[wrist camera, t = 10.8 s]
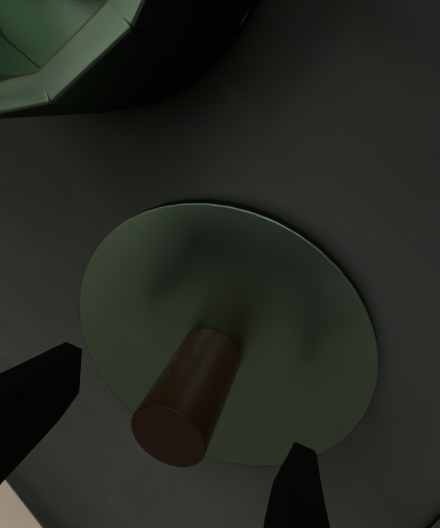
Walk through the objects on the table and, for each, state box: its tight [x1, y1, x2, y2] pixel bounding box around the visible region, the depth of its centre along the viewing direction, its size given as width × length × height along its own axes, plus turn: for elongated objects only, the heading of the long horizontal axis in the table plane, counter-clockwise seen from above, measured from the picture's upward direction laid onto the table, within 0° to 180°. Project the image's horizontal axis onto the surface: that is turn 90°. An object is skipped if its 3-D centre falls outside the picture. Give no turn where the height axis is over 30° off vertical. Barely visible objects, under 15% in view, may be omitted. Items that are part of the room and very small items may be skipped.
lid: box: [79, 199, 379, 467], centre depth 13 cm, size 12×12×5 cm
